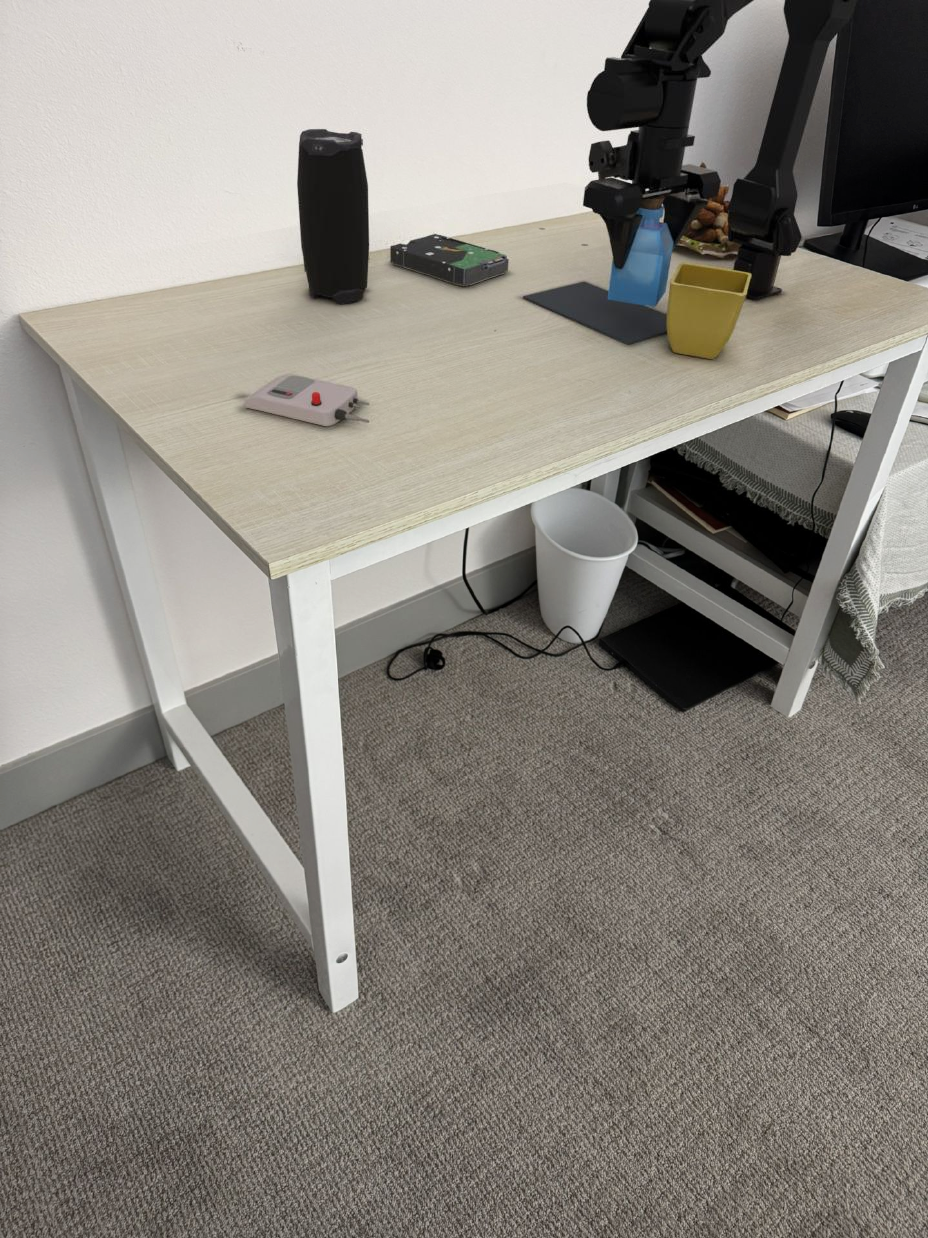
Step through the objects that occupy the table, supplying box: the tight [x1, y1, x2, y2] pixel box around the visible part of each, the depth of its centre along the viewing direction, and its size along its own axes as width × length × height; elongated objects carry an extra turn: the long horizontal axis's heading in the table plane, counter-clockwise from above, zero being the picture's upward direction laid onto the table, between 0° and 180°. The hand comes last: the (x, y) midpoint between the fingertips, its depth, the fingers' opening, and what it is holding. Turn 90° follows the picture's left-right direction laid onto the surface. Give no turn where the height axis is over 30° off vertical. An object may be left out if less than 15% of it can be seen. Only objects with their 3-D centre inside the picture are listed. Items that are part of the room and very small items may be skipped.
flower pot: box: [666, 262, 751, 360], centre depth 107 cm, size 9×9×9 cm
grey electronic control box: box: [244, 373, 370, 427], centre depth 92 cm, size 7×16×3 cm, turn 67°
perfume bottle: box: [608, 195, 674, 308], centre depth 110 cm, size 6×6×12 cm
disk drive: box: [389, 233, 510, 287], centre depth 130 cm, size 10×3×15 cm
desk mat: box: [522, 281, 667, 346], centre depth 119 cm, size 12×20×1 cm, turn 39°
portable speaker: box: [296, 128, 370, 305], centre depth 114 cm, size 9×9×20 cm
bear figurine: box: [676, 161, 741, 260], centre depth 141 cm, size 14×15×12 cm
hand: (642, 262), depth 111 cm, fingers closed on perfume bottle, 8 cm apart
